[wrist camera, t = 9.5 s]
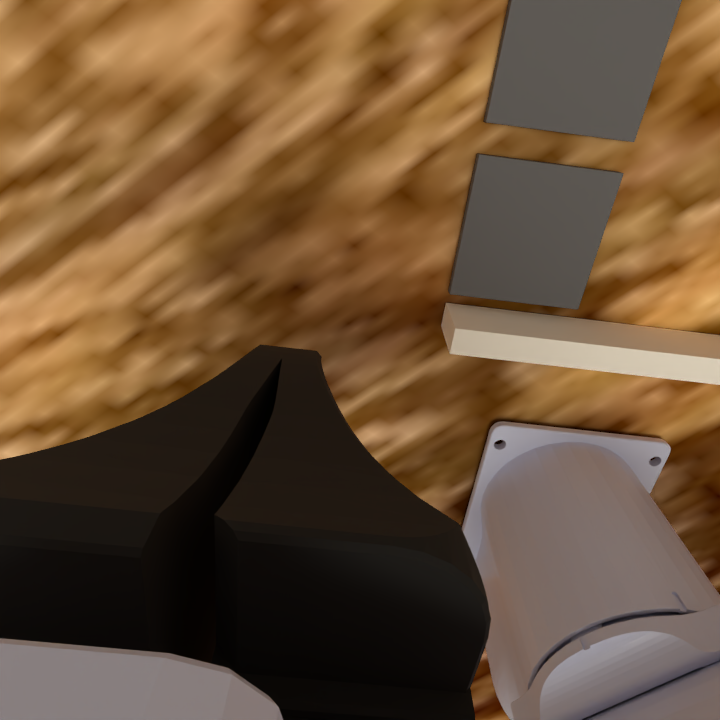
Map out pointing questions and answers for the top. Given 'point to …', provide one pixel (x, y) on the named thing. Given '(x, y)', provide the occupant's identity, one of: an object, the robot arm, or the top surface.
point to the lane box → (581, 343)
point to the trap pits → (560, 114)
